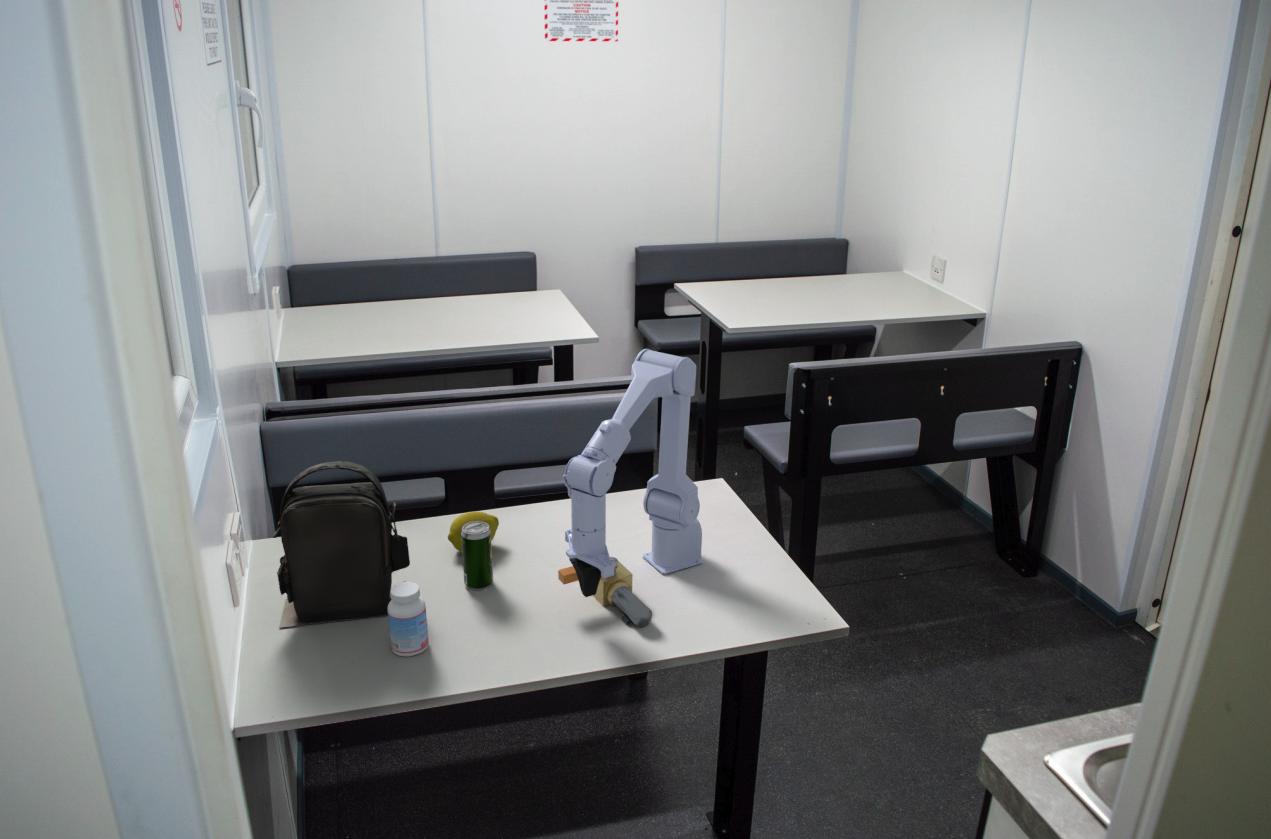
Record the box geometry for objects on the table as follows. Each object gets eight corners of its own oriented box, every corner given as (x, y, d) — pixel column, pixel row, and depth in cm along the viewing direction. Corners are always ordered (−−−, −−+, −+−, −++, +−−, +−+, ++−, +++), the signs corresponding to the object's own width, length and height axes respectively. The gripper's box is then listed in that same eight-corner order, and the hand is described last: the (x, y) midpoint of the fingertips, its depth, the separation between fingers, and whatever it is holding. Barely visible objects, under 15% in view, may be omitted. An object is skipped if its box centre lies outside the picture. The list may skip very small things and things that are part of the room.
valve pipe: (594, 563, 176) (594, 539, 175) (658, 624, 157) (658, 598, 155) (567, 570, 174) (567, 546, 172) (628, 634, 154) (628, 607, 152)
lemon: (453, 564, 175) (451, 527, 172) (442, 546, 181) (440, 511, 178) (506, 552, 179) (505, 516, 176) (494, 535, 186) (492, 500, 183)
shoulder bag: (414, 586, 167) (401, 448, 157) (414, 613, 159) (401, 470, 149) (286, 600, 162) (264, 459, 152) (279, 629, 154) (256, 481, 144)
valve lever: (613, 564, 165) (613, 554, 164) (620, 571, 163) (620, 560, 162) (557, 580, 160) (557, 569, 159) (564, 587, 158) (564, 576, 157)
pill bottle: (431, 653, 148) (426, 595, 144) (393, 661, 146) (387, 602, 142) (426, 633, 153) (421, 576, 149) (389, 640, 151) (383, 582, 147)
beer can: (471, 595, 164) (467, 537, 160) (459, 582, 169) (456, 525, 164) (498, 586, 167) (495, 529, 163) (486, 574, 171) (483, 518, 167)
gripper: (548, 512, 154) (550, 580, 159) (587, 548, 142) (587, 621, 147) (585, 503, 157) (585, 570, 162) (625, 538, 146) (624, 609, 150)
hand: (589, 594), depth 155 cm, fingers closed
